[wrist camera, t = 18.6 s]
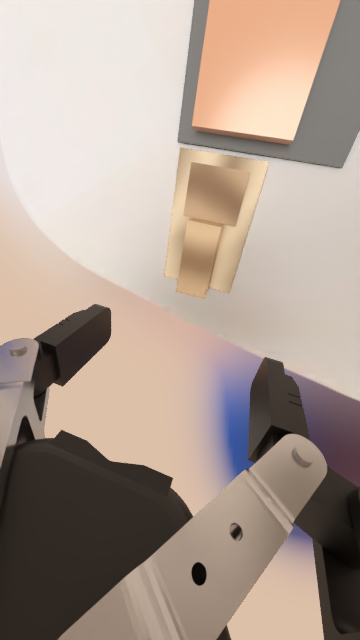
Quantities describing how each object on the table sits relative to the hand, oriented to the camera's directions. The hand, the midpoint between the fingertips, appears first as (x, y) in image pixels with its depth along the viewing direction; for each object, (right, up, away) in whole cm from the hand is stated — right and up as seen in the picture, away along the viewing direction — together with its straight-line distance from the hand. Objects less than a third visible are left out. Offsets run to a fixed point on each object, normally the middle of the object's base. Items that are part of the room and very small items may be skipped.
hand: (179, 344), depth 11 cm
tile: (+11, +21, +6) cm, 24 cm away
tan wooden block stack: (+3, +11, +15) cm, 19 cm away
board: (+3, +12, +15) cm, 20 cm away
